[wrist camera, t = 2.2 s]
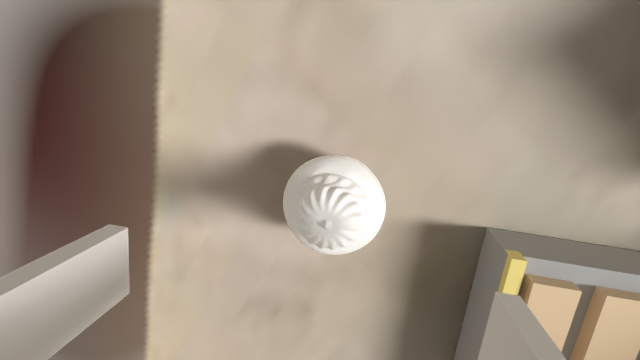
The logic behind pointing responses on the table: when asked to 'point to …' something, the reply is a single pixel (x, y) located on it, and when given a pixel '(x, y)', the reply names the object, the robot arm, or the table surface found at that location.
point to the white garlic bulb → (334, 204)
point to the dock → (559, 294)
